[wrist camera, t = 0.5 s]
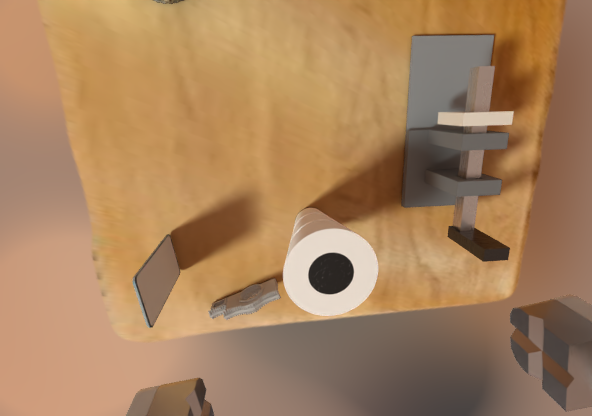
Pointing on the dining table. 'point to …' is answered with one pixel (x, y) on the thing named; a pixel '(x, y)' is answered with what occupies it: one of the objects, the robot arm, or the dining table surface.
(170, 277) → the smartphone
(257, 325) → the dining table surface
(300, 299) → the cup
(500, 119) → the block
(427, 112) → the mat
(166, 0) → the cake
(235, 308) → the grey toothed piece
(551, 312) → the robot arm
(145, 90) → the dining table surface
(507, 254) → the shaft
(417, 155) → the bearing stand
